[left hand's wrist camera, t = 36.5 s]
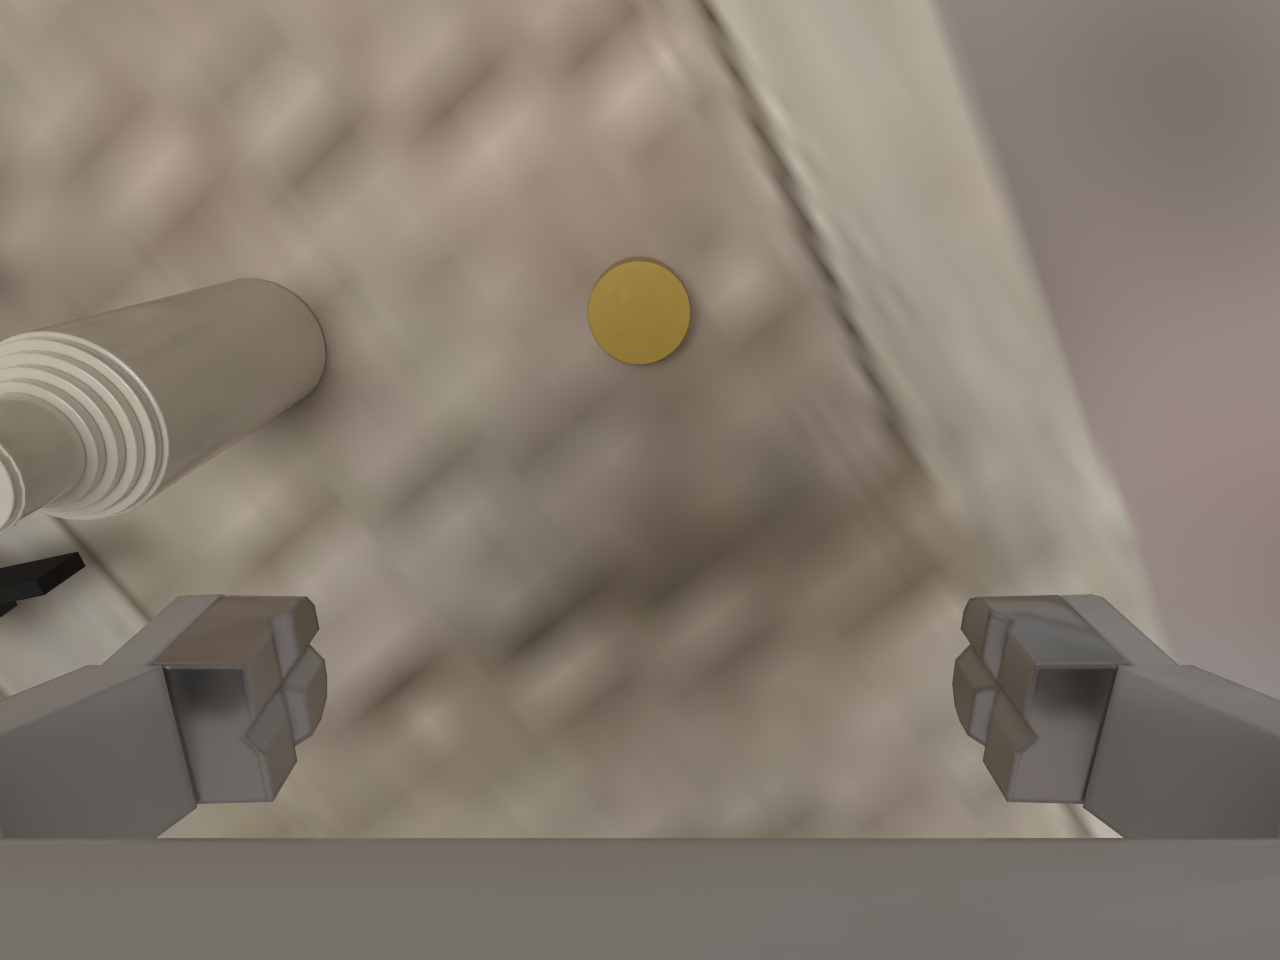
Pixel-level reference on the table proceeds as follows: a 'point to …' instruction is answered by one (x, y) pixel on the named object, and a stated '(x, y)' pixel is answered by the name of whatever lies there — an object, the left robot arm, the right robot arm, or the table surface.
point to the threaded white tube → (146, 395)
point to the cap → (639, 311)
